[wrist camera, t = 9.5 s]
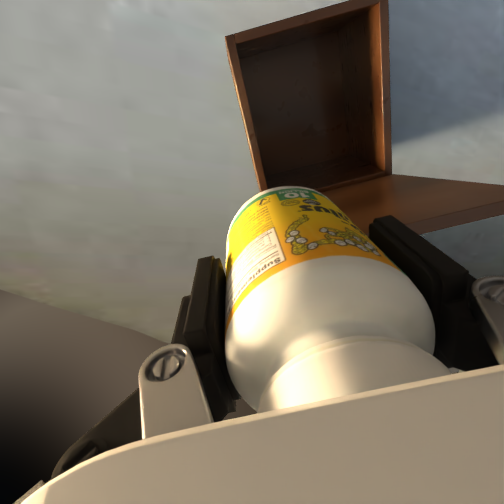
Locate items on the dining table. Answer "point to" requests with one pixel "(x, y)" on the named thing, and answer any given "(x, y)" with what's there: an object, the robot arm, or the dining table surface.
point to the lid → (418, 202)
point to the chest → (316, 96)
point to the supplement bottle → (317, 306)
